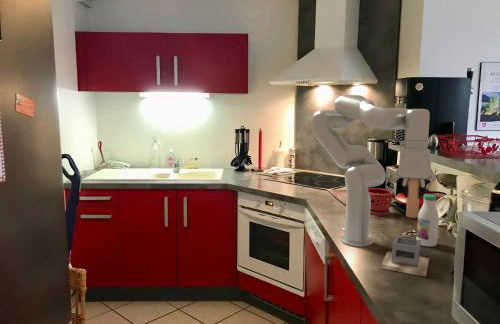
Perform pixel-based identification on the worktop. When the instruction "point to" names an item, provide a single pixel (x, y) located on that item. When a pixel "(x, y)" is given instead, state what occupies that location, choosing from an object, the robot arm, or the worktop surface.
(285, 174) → the worktop surface
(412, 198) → the peg
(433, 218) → the milk bottle
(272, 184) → the worktop surface
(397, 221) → the worktop surface
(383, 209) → the plant pot
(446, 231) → the worktop surface
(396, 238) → the collar stand
